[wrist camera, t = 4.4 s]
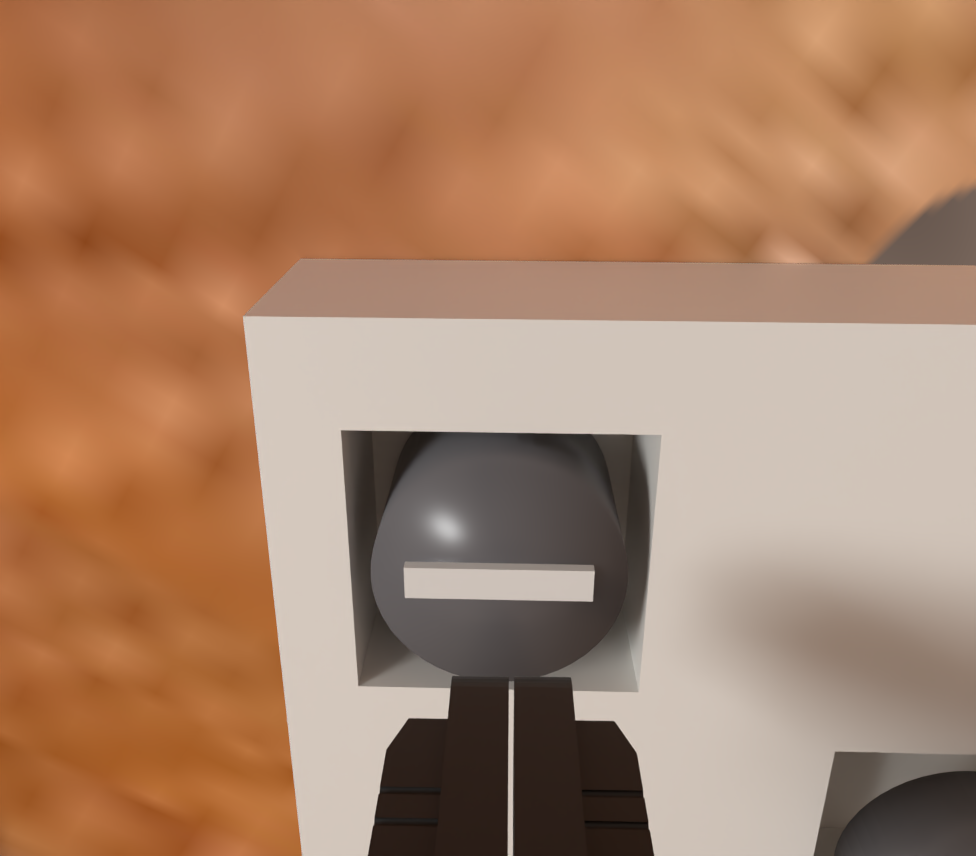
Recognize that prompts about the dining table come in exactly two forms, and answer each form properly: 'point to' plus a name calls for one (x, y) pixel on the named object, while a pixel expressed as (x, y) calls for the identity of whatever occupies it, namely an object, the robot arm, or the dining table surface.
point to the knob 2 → (916, 819)
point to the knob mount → (649, 520)
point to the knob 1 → (500, 551)
